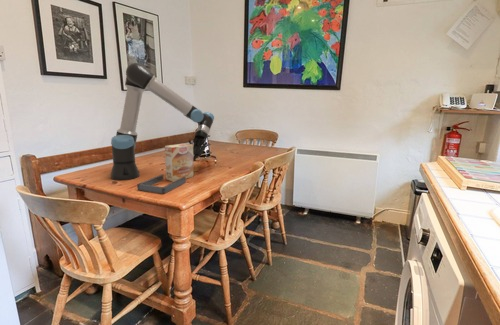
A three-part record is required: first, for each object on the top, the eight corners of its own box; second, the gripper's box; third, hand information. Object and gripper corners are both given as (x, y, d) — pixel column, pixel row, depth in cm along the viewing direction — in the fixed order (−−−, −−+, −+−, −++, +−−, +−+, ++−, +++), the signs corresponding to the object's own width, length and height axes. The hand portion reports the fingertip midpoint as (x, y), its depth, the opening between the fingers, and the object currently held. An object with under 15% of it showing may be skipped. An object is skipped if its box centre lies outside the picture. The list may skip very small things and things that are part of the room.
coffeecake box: (173, 182, 157) (171, 147, 153) (165, 179, 161) (164, 145, 157) (194, 176, 168) (193, 144, 164) (186, 174, 173) (185, 142, 168)
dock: (137, 190, 143) (137, 184, 142) (161, 179, 162) (161, 174, 161) (163, 194, 138) (163, 188, 138) (185, 182, 157) (185, 177, 156)
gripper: (213, 137, 183) (202, 169, 172) (195, 136, 187) (182, 167, 176) (209, 130, 177) (197, 162, 166) (190, 129, 181) (177, 160, 170)
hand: (190, 165), depth 171 cm, fingers closed
